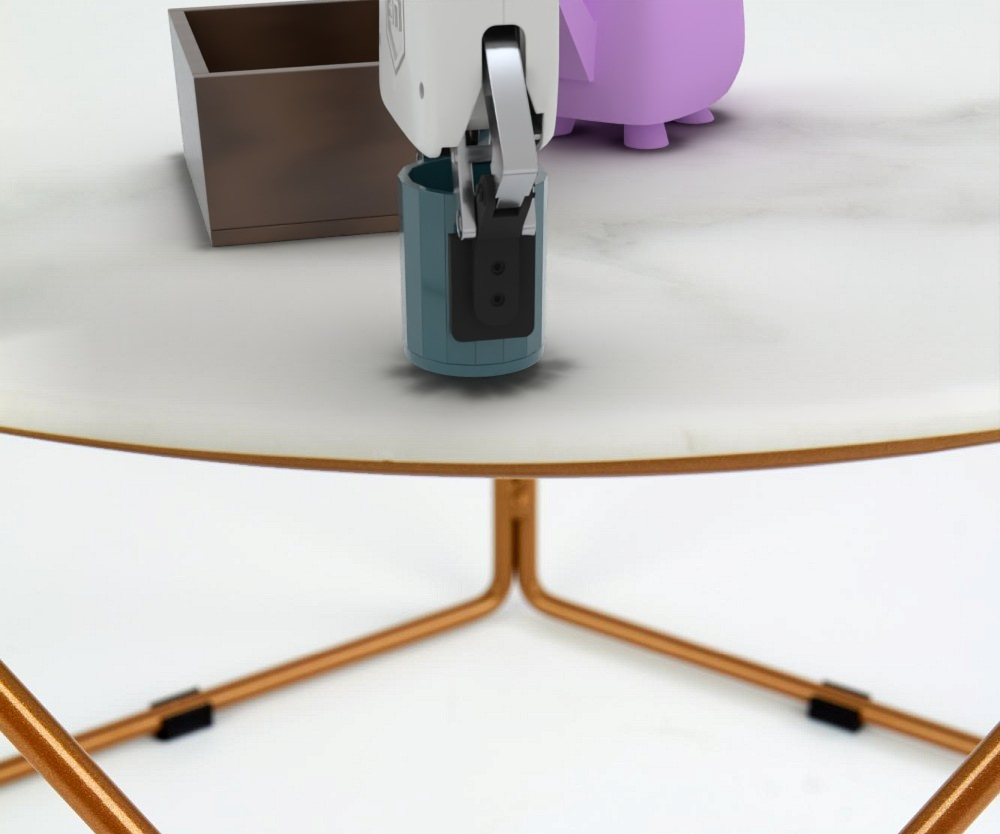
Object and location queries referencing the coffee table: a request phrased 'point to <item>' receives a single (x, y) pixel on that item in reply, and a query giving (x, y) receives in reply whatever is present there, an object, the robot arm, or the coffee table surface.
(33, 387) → the coffee table surface
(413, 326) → the cup
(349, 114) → the brown wooden box
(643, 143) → the purple piggy bank
